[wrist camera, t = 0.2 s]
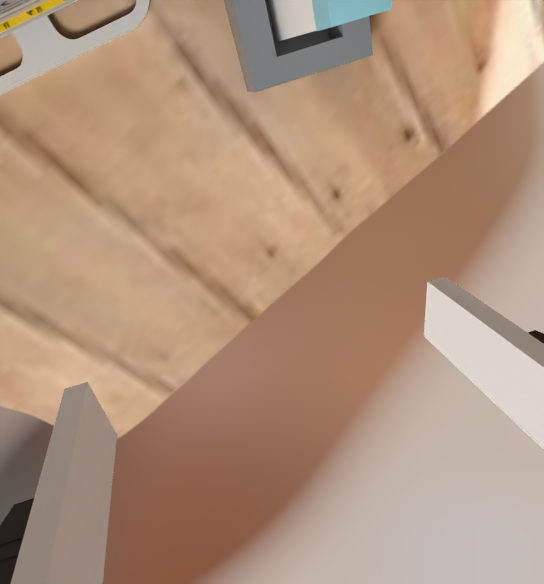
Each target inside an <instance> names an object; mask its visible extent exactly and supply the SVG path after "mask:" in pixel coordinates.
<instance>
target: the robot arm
mask: <svg viewBox="0 0 544 584" xmlns="http://www.w3.org/2000/svg"><path fill="white" fill-rule="evenodd" d="M424 337H425V338H427V339H428V340H429V341H430V342H431V343H432V344H433V345H434V346H435V347H436V348H437V349H438V350H439V351H440V352H441V353H442V354H443V355H444V356H446V357H447V358H448V359H449V360H450V361H451V362H452V363H453V364H454V365H455V366H456V367H457V368H458V369H459V370H460V371H461V372H462V373H463V374H464V375H466V376H467V377H468V378H469V379H470V380H471V381H472V382H473V383H474V384H475V385H476V386H477V387H478V388H479V389H480V390H482V392H483V393H485V394H486V395H487V396H488V397H489V398H490V399H491V400H492V401H493V402H494V403H495V404H496V405H497V406H498V407H499V408H500V409H501V410H502V411H504V412H505V413H506V414H507V415H508V416H509V417H510V418H511V419H512V420H513V421H514V422H515V423H516V424H517V425H518V426H519V427H520V428H522V430H524V431H525V432H526V433H527V434H528V435H529V436H530V437H531V438H532V439H533V440H534V441H535V442H536V443H537V444H538V445H539V446H540V447H541V448H543V449H544V334H543V333H541V332H538V331H532V332H529V333H527V332H525V331H524V330H523V329H521V328H520V327H518V326H517V325H515V324H514V323H512V322H511V321H509V320H508V319H506V318H505V317H503V316H502V315H500V314H499V313H498V312H496V311H494V310H493V309H491V308H490V307H489V306H487V305H486V304H484V303H483V302H481V301H480V300H478V299H477V298H475V297H474V296H473V295H471V294H470V293H468V292H466V291H465V290H464V289H462V288H461V287H459V286H458V285H456V284H455V283H453V282H452V281H450V280H449V279H447V278H446V277H442V278H438V279H435V280H432V281H428V283H427V299H426V313H425V330H424ZM116 438H117V433H116V432H115V430H114V428H113V426H112V425H111V423H110V421H109V419H108V417H107V416H106V414H105V412H104V410H103V409H102V407H101V405H100V403H99V401H98V400H97V398H96V396H95V394H94V393H93V391H92V389H91V387H90V385H89V384H88V382H86V383H83V384H80V385H76V386H73V387H69V388H66V389H65V390H64V393H63V397H62V400H61V404H60V408H59V411H58V415H57V418H56V422H55V426H54V429H53V433H52V436H51V440H50V444H49V447H48V451H47V454H46V458H45V462H44V465H43V469H42V472H41V476H40V479H39V483H38V487H37V491H36V494H35V497H34V498H33V499H30V500H27V501H24V502H21V503H18V504H15V505H14V506H13V507H12V509H11V510H10V512H9V514H8V515H7V516H6V518H5V520H4V521H3V522H2V524H1V525H0V584H102V582H103V572H104V562H105V551H106V541H107V531H108V520H109V509H110V500H111V489H112V478H113V469H114V458H115V448H116Z"/></svg>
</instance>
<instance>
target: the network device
mask: <svg viewBox="0 0 544 584" xmlns="http://www.w3.org/2000/svg"><path fill="white" fill-rule="evenodd" d="M76 1H78V0H0V38H2V37H4V36H6V35H8V34H10V33H12V35H13V36H14V38H15V39H16V41H17V42H18V44H19V45H20V47H21V50H22V54H23V60H22V63H21V65H20V66H19V67H18V68H17V69H15V70H13V71H11V72H9V73H7V74H4V75H2V76H0V95H2V94H4V93H6V92H8V91H10V90H12V89H14V88H16V87H18V86H20V85H22V84H24V83H26V82H28V81H30V80H32V79H34V78H36V77H39V76H41V75H43V74H45V73H47V72H49V71H51V70H53V69H55V68H57V67H59V66H61V65H63V64H65V63H67V62H69V61H71V60H73V59H75V58H77V57H79V56H82V55H84V54H86V53H88V52H90V51H92V50H94V49H96V48H98V47H100V46H102V45H104V44H106V43H108V42H110V41H112V40H114V39H116V38H118V37H120V36H123V35H125V34H127V33H129V32H131V31H132V30H134V29H135V28H137V27H138V26H139V25H140V24H141V23H142V22H143V20H144V18H145V16H146V14H147V12H148V8H149V3H150V0H136V6H135V8H134V10H133V11H132V12H131V13H129V14H128V15H126V16H124V17H122V18H120V19H117V20H115V21H113V22H111V23H109V24H107V25H105V26H103V27H101V28H99V29H97V30H95V31H93V32H91V33H89V34H87V35H85V36H83V37H80V38H78V39H68V38H65V37H64V36H62V35H61V34H60V33H59V32H58V31H57V29H56V28H55V26H54V25H53V23H52V21H51V20H50V18H49V16H48V15H49V14H51V13H53V12H56V11H58V10H60V9H62V8H64V7H66V6H68V5H70V4H72V3H74V2H76Z"/></svg>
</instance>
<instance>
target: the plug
mask: <svg viewBox="0 0 544 584" xmlns="http://www.w3.org/2000/svg"><path fill="white" fill-rule="evenodd" d="M268 1H269V6H270V11H271V16H272V20H273V25H274V30H275V35H276V40H277V42H278V41H282V40H285V39H289V38H292V37H296V36H299V35H303V34H306V33H310V32H313V31H320V30H324V29H327V28H331V27H334V26H338V25H341V24H344V23H347V22H351V21H354V20H357V19H361V18H364V17H367V16H370V15H374V14H377V13H380V12H384V11H387V10H390V9H392V2H391V0H268Z"/></svg>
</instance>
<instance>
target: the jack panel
mask: <svg viewBox="0 0 544 584" xmlns="http://www.w3.org/2000/svg"><path fill="white" fill-rule="evenodd" d="M224 2H225V5H226V9H227V13H228V17H229V21H230V25H231V29H232V33H233V37H234V41H235V44H236V48H237V52H238V56H239V60H240V64H241V68H242V72H243V76H244V79H245V83H246V87H247V91H250V92H257V91H261V90H264V89H267V88H270V87H273V86H276V85H280V84H283V83H286V82H289V81H292V80H295V79H299V78H302V77H305V76H308V75H311V74H314V73H318V72H321V71H324V70H327V69H330V68H334V67H337V66H340V65H343V64H346V63H349V62H353V61H356V60H359V59H362V58H365V57H368V56H372V55H373V51H372V40H371V29H370V19H369V16H367V17H364V18H361V19H357V20H354V21H351V22H347V23H344V24H341V25H338V26H334V27H331V28H327V29H324V30H320V31H313V32H310V33H306V34H303V35H299V36H296V37H292V38H289V39H285V40H282V41H278V42H277V40H276V35H275V30H274V25H273V20H272V16H271V11H270V6H269V1H268V0H224Z"/></svg>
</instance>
